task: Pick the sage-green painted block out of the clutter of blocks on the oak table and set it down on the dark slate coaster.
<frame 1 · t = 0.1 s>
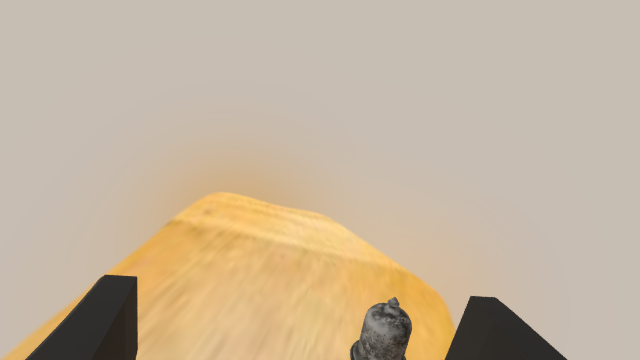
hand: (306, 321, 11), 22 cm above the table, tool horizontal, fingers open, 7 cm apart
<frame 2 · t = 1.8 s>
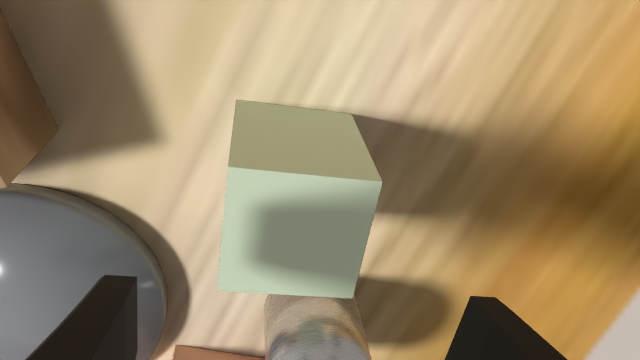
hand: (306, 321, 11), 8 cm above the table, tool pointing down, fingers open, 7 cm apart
coaster: (36, 294, 19), on the table
grey tin: (310, 307, 21), on the table
sage block: (287, 158, 18), on the table
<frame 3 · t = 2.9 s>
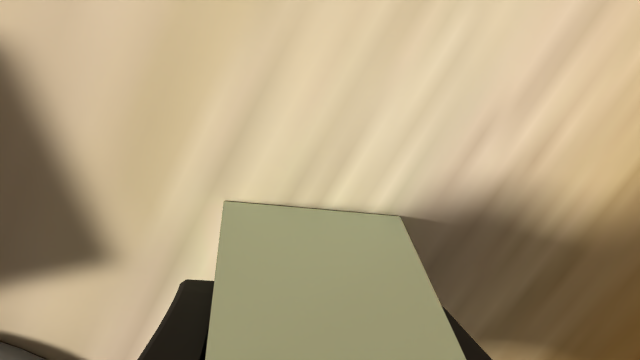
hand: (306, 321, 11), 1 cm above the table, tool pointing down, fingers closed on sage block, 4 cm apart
sage block: (301, 278, 12), on the table, touching gripper
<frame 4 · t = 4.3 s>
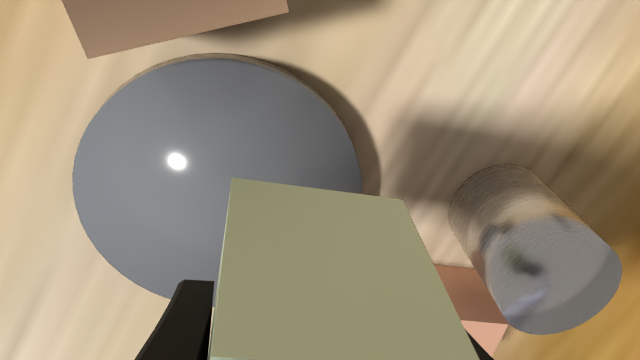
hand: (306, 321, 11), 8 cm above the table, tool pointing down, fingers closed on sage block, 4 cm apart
coaster: (224, 187, 18), on the table
terracotta block: (397, 294, 22), on the table
grey tin: (495, 207, 20), on the table
sage block: (303, 258, 12), point 6 cm above the table, touching gripper
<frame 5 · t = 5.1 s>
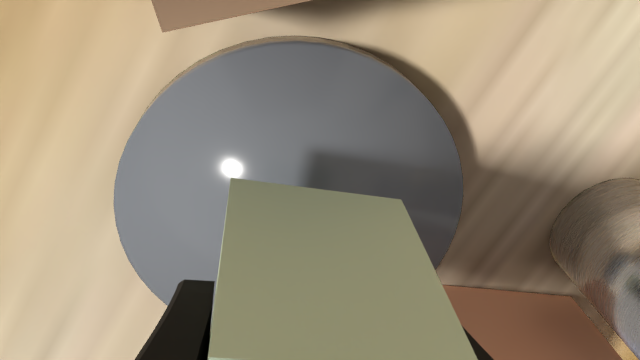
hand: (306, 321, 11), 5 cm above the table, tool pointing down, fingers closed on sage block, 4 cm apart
coaster: (292, 201, 15), on the table
terracotta block: (478, 326, 19), on the table
grey tin: (605, 228, 17), on the table
sage block: (302, 258, 12), point 3 cm above the table, touching gripper
when the fingers open (3 cm above the table, at t = 5.8 s): sage block stays where it is, resting on coaster.
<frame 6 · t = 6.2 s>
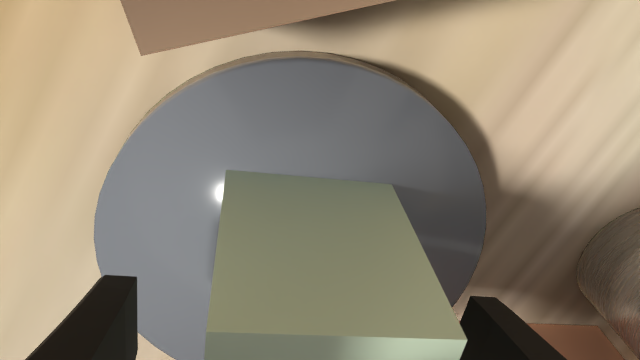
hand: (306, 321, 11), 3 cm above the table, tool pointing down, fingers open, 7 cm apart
coaster: (295, 231, 14), on the table
grey tin: (637, 257, 16), on the table
sage block: (299, 245, 13), point 1 cm above the table, touching coaster
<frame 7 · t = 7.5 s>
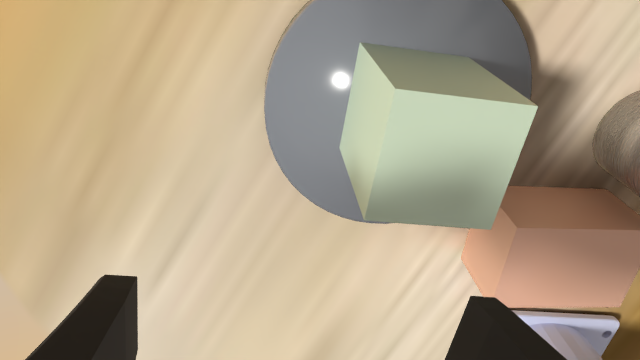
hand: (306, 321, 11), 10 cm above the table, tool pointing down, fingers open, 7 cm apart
coaster: (393, 101, 19), on the table
terracotta block: (530, 222, 23), on the table
grey tin: (638, 133, 21), on the table
sage block: (401, 103, 18), point 1 cm above the table, touching coaster
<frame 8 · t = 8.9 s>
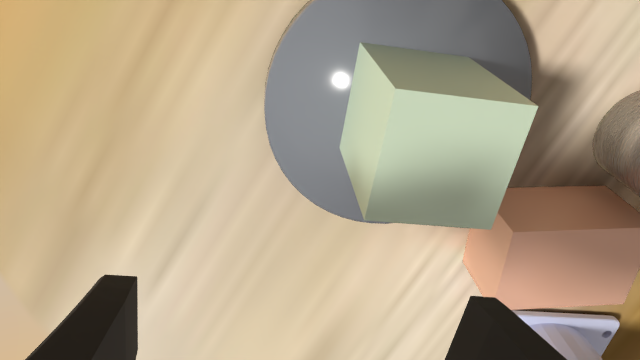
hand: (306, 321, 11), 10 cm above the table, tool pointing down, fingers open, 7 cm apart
coaster: (393, 101, 19), on the table
terracotta block: (530, 222, 23), on the table
grey tin: (638, 133, 21), on the table
sage block: (401, 103, 18), point 1 cm above the table, touching coaster
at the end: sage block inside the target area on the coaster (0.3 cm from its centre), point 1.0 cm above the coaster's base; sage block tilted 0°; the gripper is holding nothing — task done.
